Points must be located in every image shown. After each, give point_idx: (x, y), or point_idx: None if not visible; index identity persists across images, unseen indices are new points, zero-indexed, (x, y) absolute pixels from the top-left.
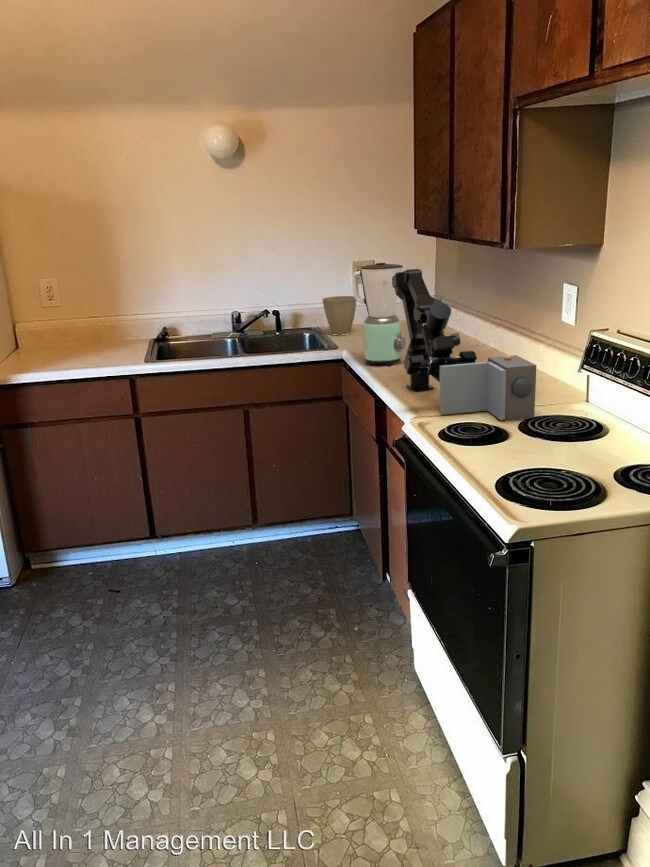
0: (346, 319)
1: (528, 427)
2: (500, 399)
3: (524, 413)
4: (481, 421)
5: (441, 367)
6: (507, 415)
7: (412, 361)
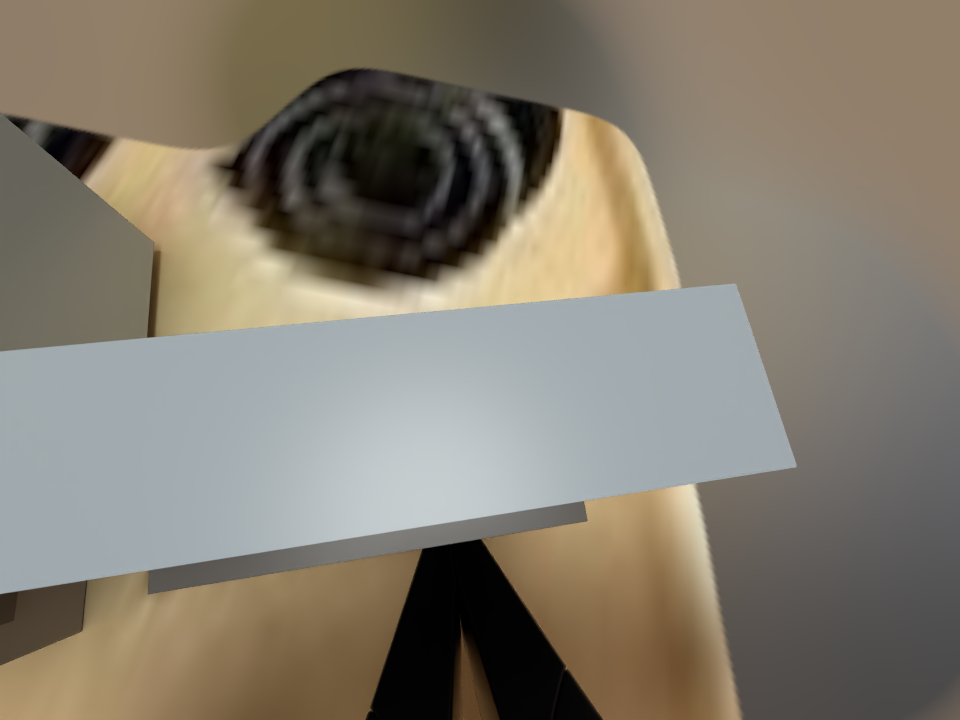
0: None
1: (51, 131)
2: (25, 145)
3: None
4: (273, 285)
5: (717, 294)
6: None
7: None
